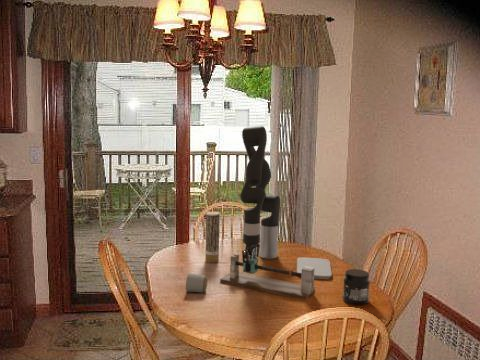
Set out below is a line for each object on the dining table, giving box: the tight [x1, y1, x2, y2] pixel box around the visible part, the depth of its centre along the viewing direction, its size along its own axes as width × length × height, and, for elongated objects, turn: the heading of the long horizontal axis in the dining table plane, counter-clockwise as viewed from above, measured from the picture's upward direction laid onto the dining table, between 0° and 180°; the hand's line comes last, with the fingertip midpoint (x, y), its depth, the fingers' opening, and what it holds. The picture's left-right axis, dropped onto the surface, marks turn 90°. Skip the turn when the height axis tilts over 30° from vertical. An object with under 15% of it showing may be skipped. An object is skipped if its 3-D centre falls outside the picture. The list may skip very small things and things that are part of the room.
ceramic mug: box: [185, 272, 208, 293], centre depth 195 cm, size 11×8×8 cm
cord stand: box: [219, 253, 316, 301], centre depth 201 cm, size 12×40×12 cm, turn 64°
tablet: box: [296, 256, 333, 280], centre depth 225 cm, size 16×26×2 cm, turn 172°
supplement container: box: [342, 268, 371, 306], centre depth 188 cm, size 10×10×12 cm
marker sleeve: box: [242, 258, 259, 275], centre depth 204 cm, size 5×5×6 cm
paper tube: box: [204, 211, 221, 264], centre depth 232 cm, size 7×7×25 cm
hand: (250, 269), depth 204 cm, fingers open, 5 cm apart
